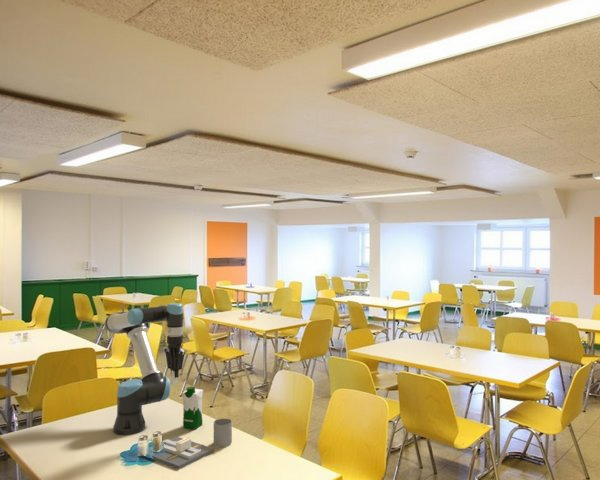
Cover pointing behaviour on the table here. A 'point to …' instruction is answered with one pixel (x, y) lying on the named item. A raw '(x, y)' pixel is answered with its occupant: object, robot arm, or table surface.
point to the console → (181, 453)
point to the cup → (222, 432)
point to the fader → (183, 444)
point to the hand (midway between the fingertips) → (174, 383)
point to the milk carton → (192, 408)
